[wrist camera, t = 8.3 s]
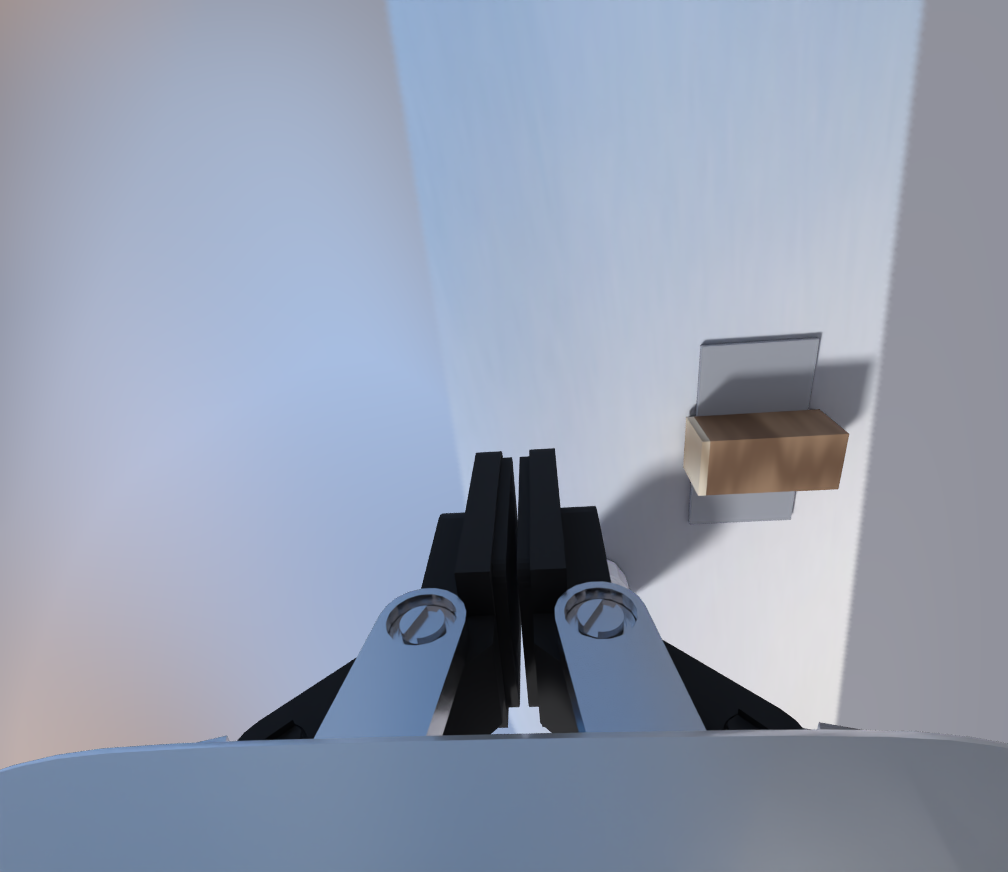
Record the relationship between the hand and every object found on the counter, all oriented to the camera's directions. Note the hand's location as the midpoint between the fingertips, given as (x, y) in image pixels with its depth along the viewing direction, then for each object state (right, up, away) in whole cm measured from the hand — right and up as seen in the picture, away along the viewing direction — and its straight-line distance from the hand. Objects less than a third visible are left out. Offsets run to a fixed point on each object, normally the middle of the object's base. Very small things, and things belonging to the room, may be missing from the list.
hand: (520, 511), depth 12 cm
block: (+12, 0, +27) cm, 29 cm away
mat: (+17, +2, +28) cm, 33 cm away
